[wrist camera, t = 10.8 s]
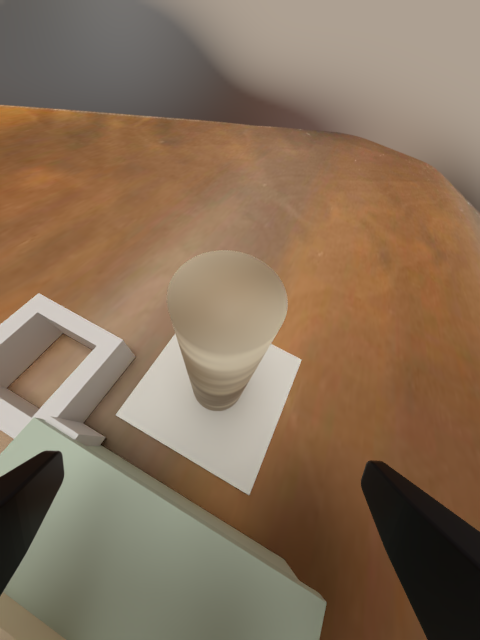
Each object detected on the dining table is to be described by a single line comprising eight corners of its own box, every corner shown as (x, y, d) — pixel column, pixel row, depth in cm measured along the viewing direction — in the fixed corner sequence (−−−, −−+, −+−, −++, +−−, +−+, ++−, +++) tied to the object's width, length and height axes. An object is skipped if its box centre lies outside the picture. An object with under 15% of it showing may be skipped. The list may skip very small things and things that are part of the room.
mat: (300, 360, 22) (301, 359, 21) (248, 494, 16) (249, 495, 16) (196, 307, 23) (195, 305, 23) (116, 415, 18) (115, 415, 17)
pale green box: (317, 458, 18) (368, 463, 12) (190, 910, 10) (170, 1561, 4) (63, 315, 21) (10, 267, 15) (-209, 569, 12) (-551, 669, 7)
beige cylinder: (252, 387, 19) (311, 302, 8) (215, 422, 18) (222, 380, 7) (220, 352, 21) (232, 234, 9) (182, 382, 19) (141, 287, 8)
